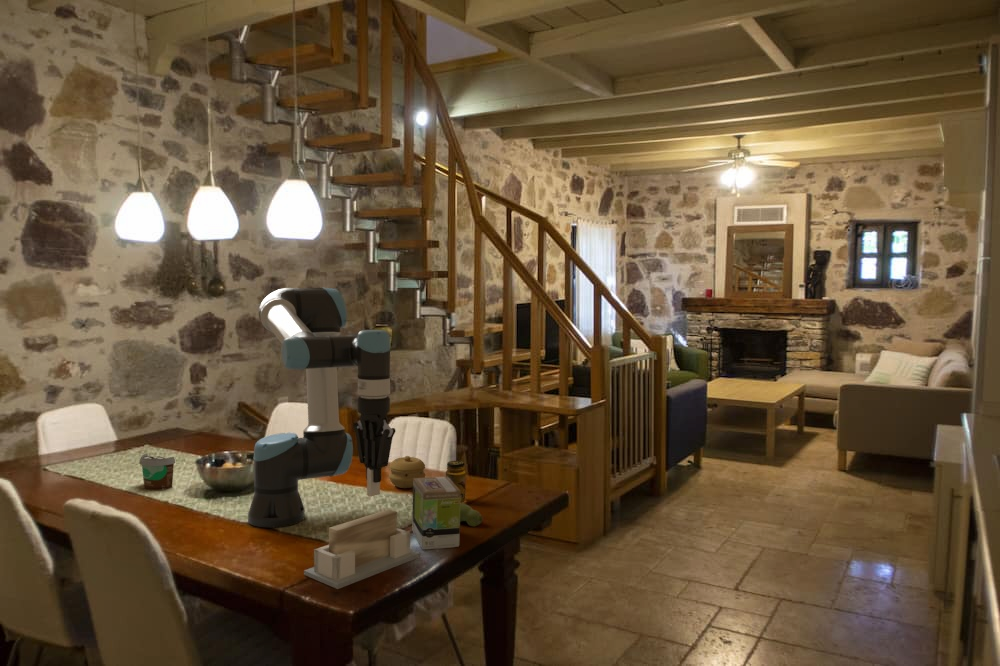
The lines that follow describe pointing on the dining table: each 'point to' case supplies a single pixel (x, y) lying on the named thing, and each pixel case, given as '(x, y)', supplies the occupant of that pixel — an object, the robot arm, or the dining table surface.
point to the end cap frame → (343, 570)
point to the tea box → (436, 512)
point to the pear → (469, 515)
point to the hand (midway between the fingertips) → (373, 494)
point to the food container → (157, 472)
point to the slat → (364, 536)
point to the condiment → (457, 476)
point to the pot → (406, 471)
